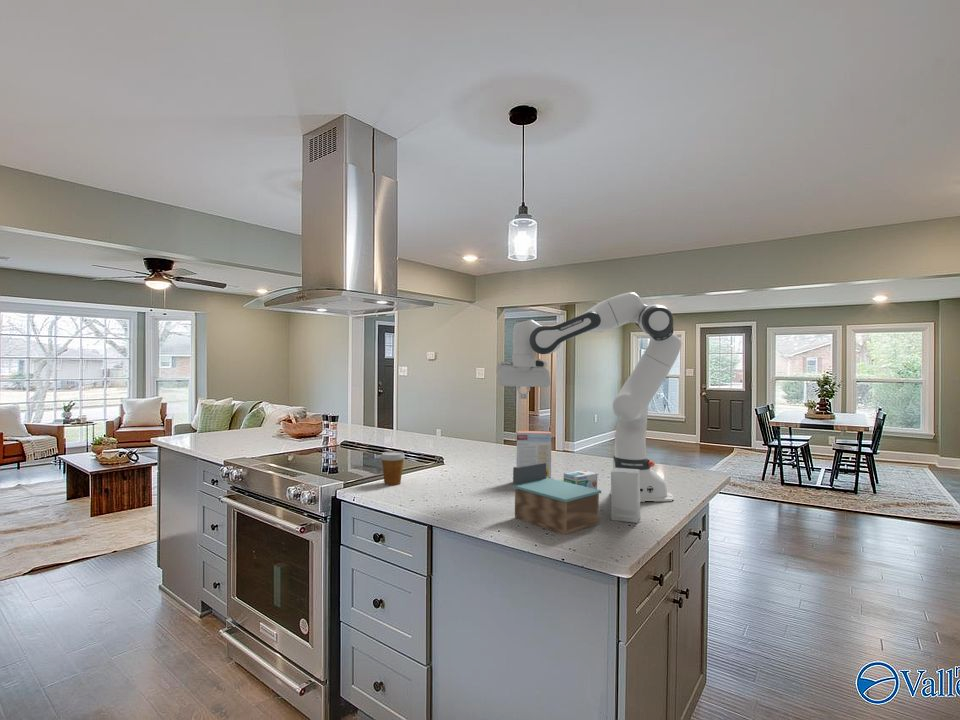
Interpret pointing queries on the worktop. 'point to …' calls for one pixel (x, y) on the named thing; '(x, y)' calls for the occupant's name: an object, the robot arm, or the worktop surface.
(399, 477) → the disposable coffee cup
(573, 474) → the light bulb box
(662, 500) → the robot arm
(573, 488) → the lid
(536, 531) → the worktop surface
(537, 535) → the worktop surface
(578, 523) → the crate
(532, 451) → the cracker box
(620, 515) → the skincare box
